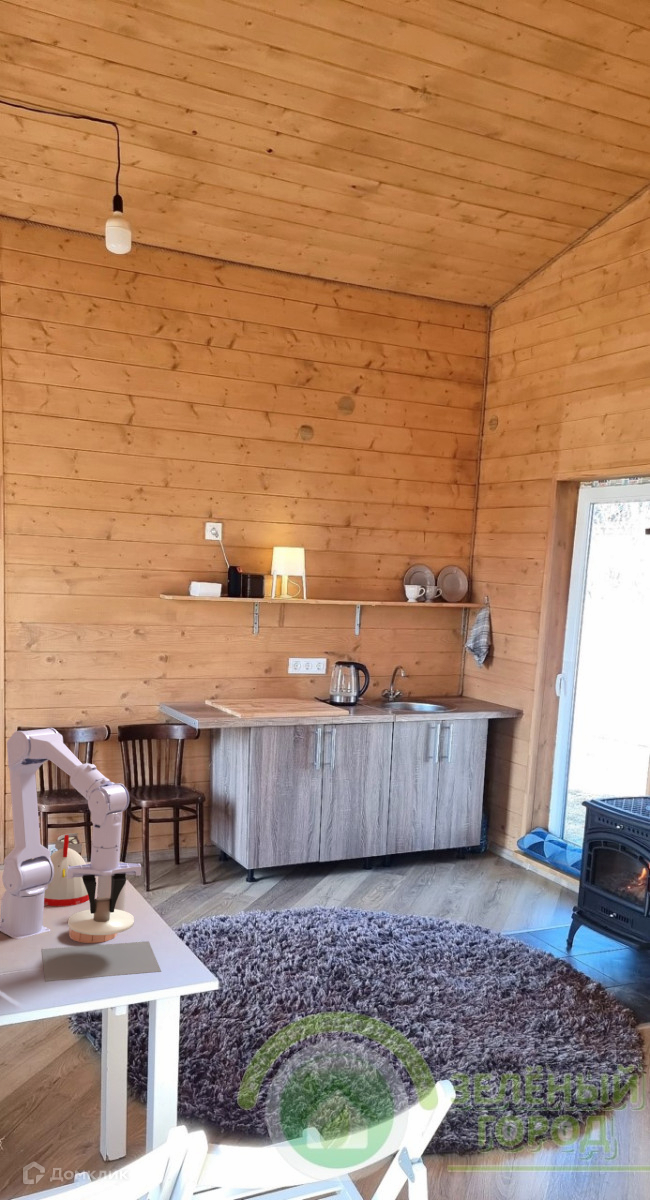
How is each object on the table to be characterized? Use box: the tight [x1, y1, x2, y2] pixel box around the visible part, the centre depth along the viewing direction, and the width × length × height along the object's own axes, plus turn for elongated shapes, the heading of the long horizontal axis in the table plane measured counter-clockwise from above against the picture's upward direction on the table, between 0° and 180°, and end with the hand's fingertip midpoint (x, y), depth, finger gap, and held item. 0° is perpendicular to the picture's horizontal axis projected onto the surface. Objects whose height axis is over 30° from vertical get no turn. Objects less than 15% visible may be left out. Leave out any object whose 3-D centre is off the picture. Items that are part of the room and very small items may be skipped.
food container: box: [54, 832, 83, 857], centre depth 233 cm, size 12×6×10 cm, turn 21°
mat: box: [41, 941, 162, 982], centre depth 180 cm, size 16×22×1 cm
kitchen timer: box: [44, 834, 89, 907], centre depth 218 cm, size 14×14×15 cm
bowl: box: [68, 927, 119, 944], centre depth 193 cm, size 10×10×4 cm
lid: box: [67, 897, 135, 935], centre depth 181 cm, size 13×13×5 cm
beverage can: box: [96, 860, 127, 911], centre depth 207 cm, size 6×6×12 cm
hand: (101, 911), depth 181 cm, fingers closed on lid, 3 cm apart
